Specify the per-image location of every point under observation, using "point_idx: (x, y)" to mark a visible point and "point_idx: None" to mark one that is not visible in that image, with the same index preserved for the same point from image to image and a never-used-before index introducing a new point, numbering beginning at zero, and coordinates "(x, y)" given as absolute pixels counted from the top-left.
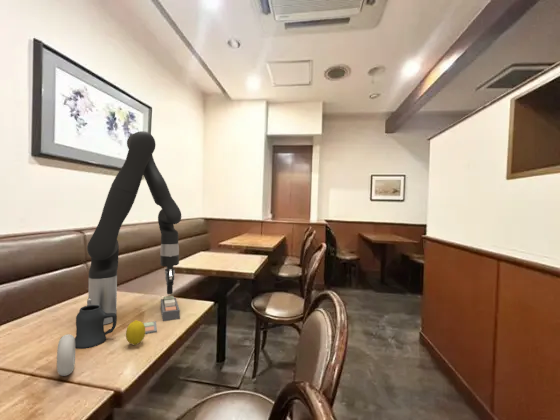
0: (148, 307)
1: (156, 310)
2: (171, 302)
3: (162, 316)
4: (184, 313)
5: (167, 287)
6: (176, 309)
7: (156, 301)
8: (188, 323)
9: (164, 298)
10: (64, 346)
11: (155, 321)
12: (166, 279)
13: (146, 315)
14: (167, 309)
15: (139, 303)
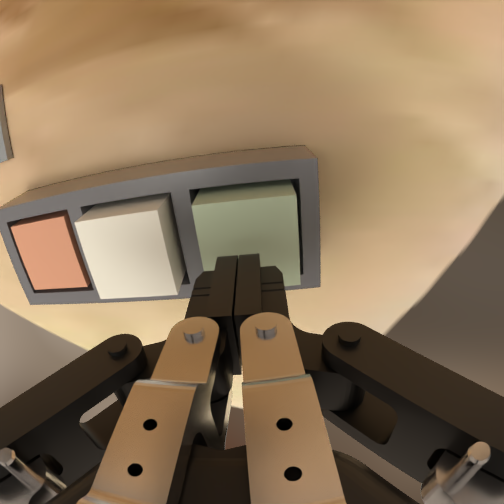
0: (329, 53)
1: (230, 117)
2: (91, 272)
3: (37, 191)
4: (130, 302)
5: (207, 306)
6: (35, 288)
7: (452, 121)
8: (16, 306)
9: (225, 207)
10: None
11: (5, 157)
12: (132, 404)
13: (135, 61)
14: (29, 236)
15: (441, 6)
